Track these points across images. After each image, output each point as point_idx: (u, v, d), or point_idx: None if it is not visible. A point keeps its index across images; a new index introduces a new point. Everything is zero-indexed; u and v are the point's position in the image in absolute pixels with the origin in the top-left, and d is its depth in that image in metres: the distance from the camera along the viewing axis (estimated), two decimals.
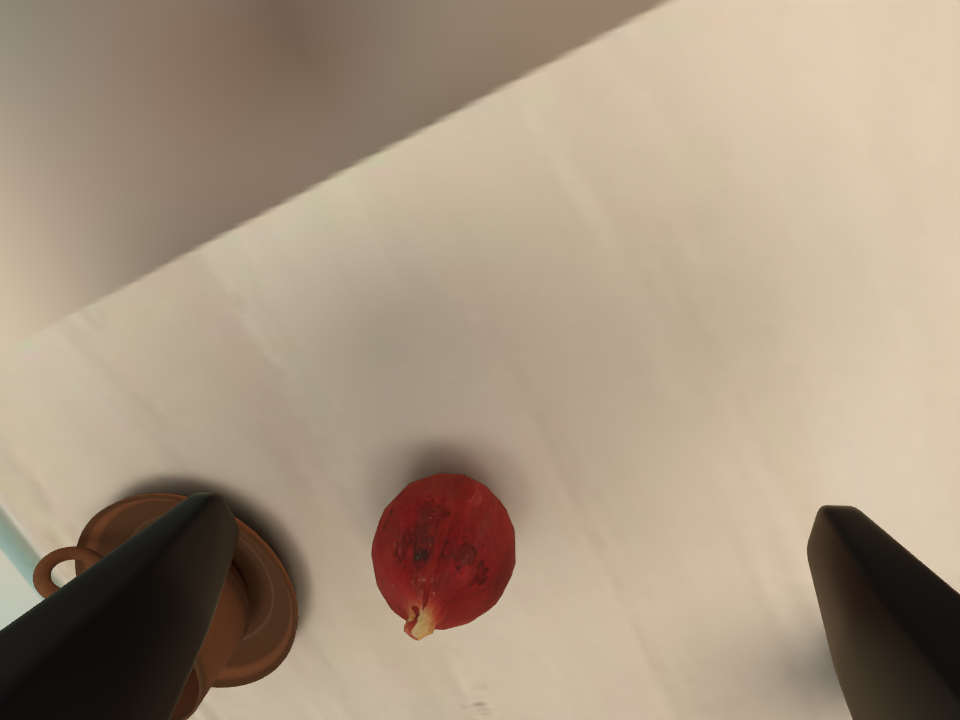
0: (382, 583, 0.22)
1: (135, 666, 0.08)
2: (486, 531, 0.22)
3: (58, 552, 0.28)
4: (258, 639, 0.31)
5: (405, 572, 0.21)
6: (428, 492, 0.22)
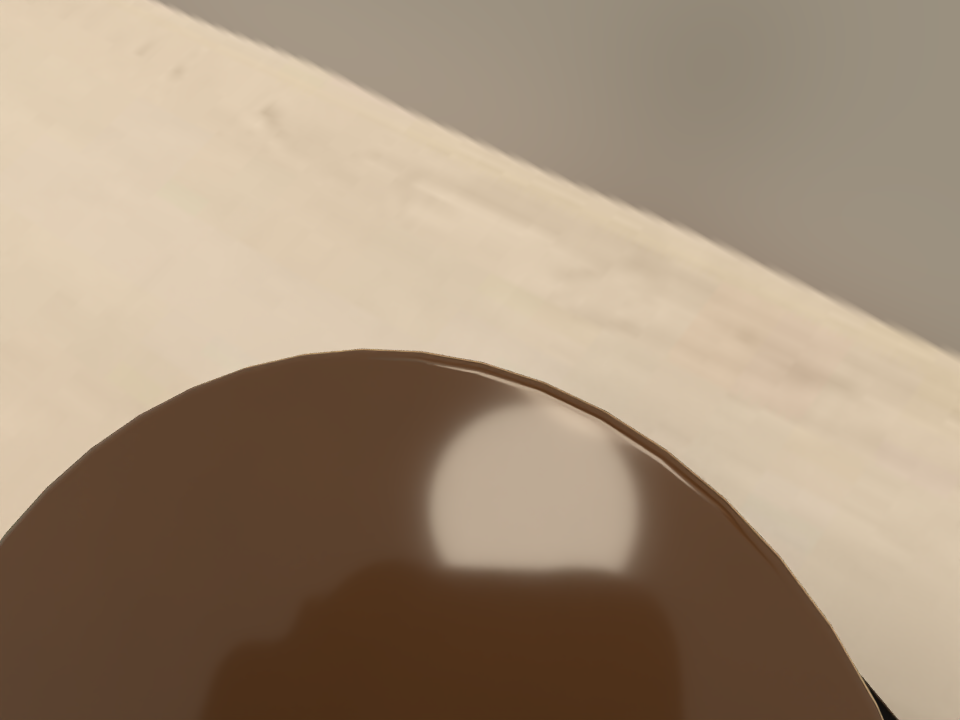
0: None
1: None
2: None
3: None
4: None
5: None
6: None
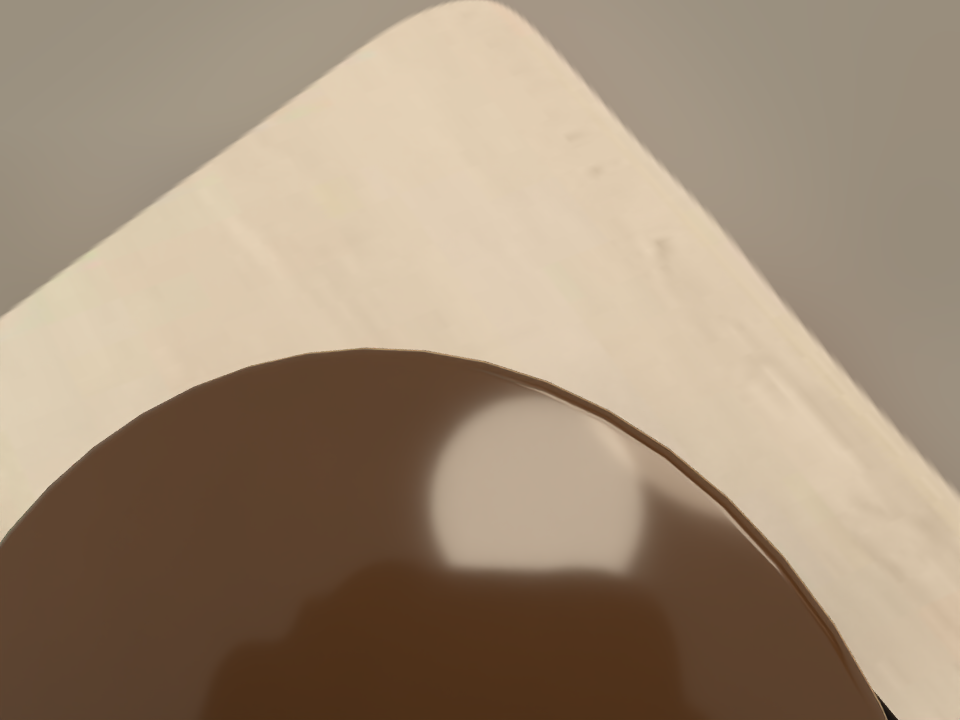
0: None
1: None
2: None
3: None
4: None
5: None
6: None
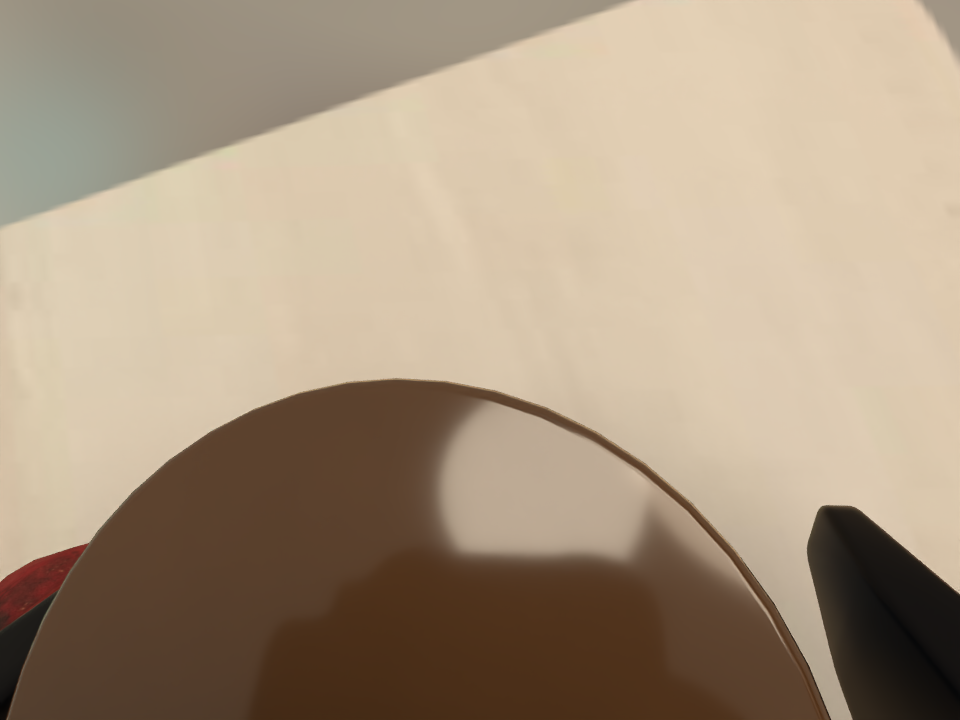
0: None
1: None
2: None
3: None
4: None
5: None
6: None
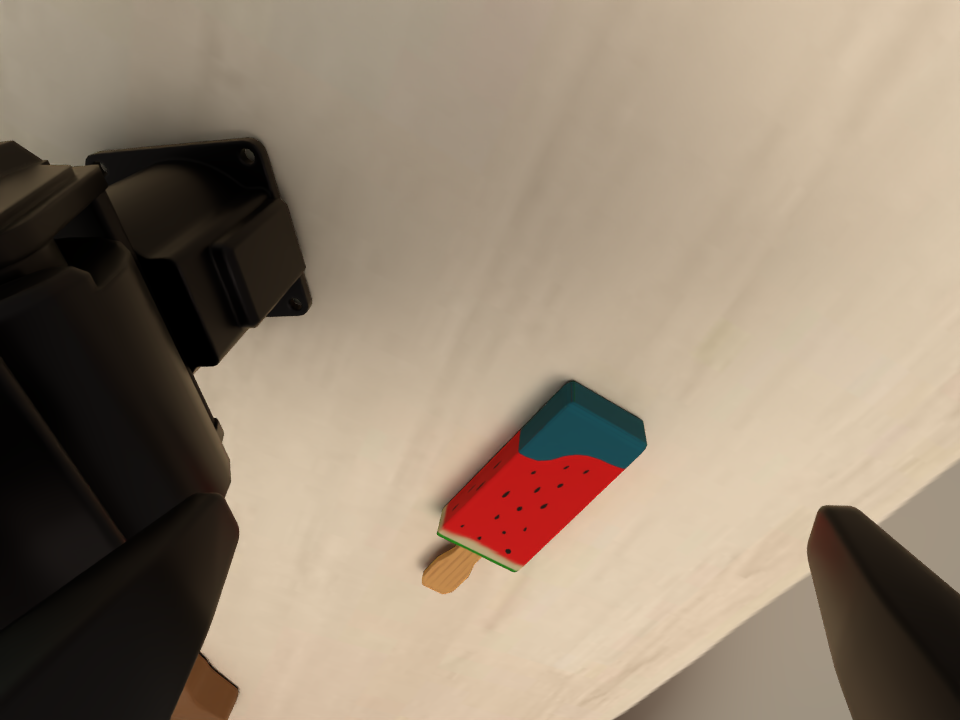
0: None
1: (135, 666, 0.08)
2: None
3: None
4: None
5: None
6: None
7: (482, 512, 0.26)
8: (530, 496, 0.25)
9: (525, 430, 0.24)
